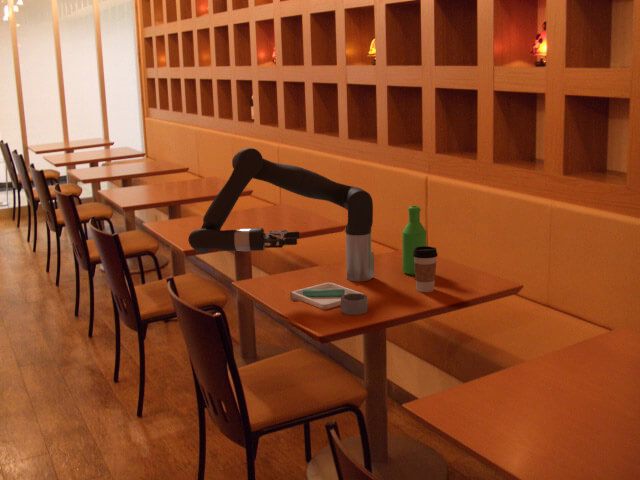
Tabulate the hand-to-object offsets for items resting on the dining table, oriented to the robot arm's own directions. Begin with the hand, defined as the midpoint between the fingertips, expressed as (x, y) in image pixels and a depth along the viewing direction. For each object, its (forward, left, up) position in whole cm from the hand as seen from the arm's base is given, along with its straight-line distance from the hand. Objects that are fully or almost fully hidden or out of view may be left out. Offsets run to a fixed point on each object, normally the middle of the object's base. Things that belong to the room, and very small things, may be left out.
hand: (298, 238), depth 260 cm
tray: (-7, +6, -22) cm, 23 cm away
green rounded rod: (-12, +9, -20) cm, 24 cm away
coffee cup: (-39, +20, -22) cm, 49 cm away
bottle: (-51, +2, -22) cm, 55 cm away
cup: (-5, +23, -22) cm, 32 cm away
